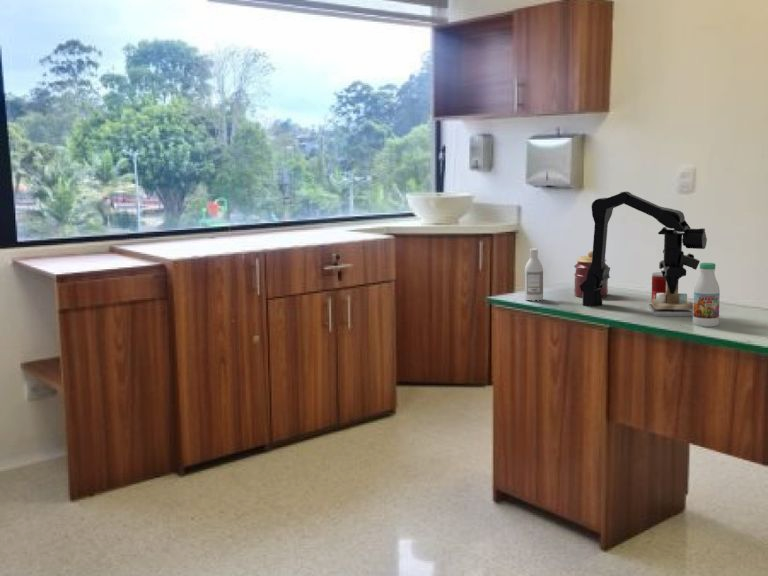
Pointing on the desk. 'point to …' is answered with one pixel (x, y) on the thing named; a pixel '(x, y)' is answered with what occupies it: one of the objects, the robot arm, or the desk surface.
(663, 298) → the white short cylinder
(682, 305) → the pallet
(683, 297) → the grey-green round cylinder
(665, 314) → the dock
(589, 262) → the canister
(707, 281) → the milk bottle
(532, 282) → the bath foam
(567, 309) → the desk surface
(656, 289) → the canned food
